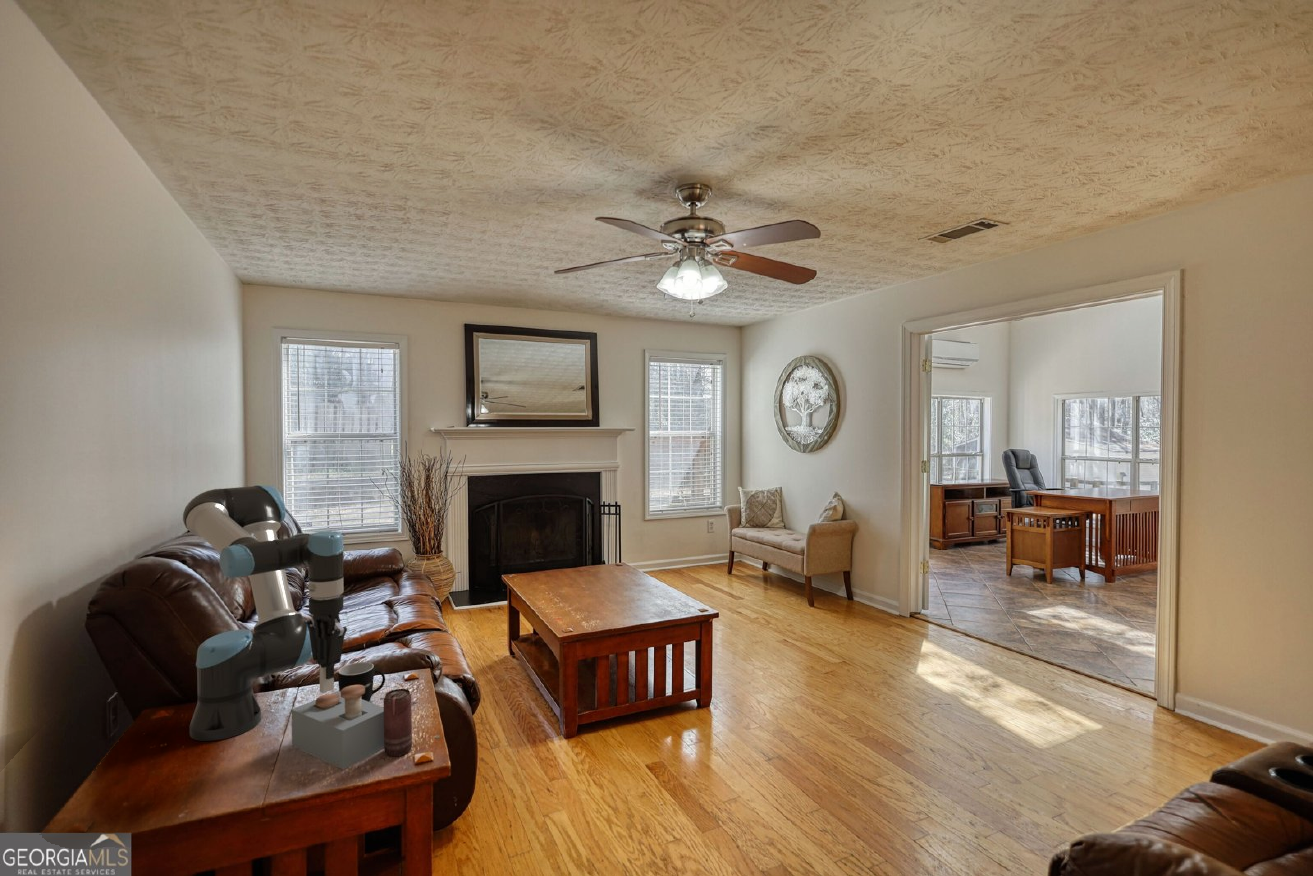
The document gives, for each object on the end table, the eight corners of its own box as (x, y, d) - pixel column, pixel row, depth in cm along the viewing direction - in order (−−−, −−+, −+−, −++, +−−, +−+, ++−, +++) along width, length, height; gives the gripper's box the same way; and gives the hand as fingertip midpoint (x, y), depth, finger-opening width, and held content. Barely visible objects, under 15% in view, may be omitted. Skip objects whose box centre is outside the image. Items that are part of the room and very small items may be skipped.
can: (382, 760, 145) (381, 701, 144) (386, 746, 151) (385, 689, 151) (410, 756, 147) (409, 697, 146) (413, 742, 153) (412, 686, 152)
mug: (341, 715, 167) (341, 677, 166) (335, 702, 174) (335, 666, 174) (389, 703, 174) (388, 667, 174) (381, 691, 181) (381, 657, 181)
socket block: (292, 746, 151) (291, 709, 151) (338, 725, 161) (338, 690, 161) (343, 769, 141) (342, 730, 141) (389, 745, 151) (388, 709, 151)
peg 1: (311, 739, 153) (311, 700, 152) (331, 730, 157) (331, 692, 157) (324, 745, 150) (323, 705, 150) (344, 735, 155) (344, 696, 154)
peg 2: (336, 732, 148) (335, 691, 147) (356, 722, 152) (356, 683, 152) (350, 737, 145) (349, 696, 145) (370, 728, 149) (369, 687, 149)
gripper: (295, 595, 152) (296, 690, 153) (327, 604, 146) (328, 703, 147) (324, 587, 159) (325, 678, 160) (357, 596, 152) (357, 690, 154)
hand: (326, 690), depth 153 cm, fingers closed
